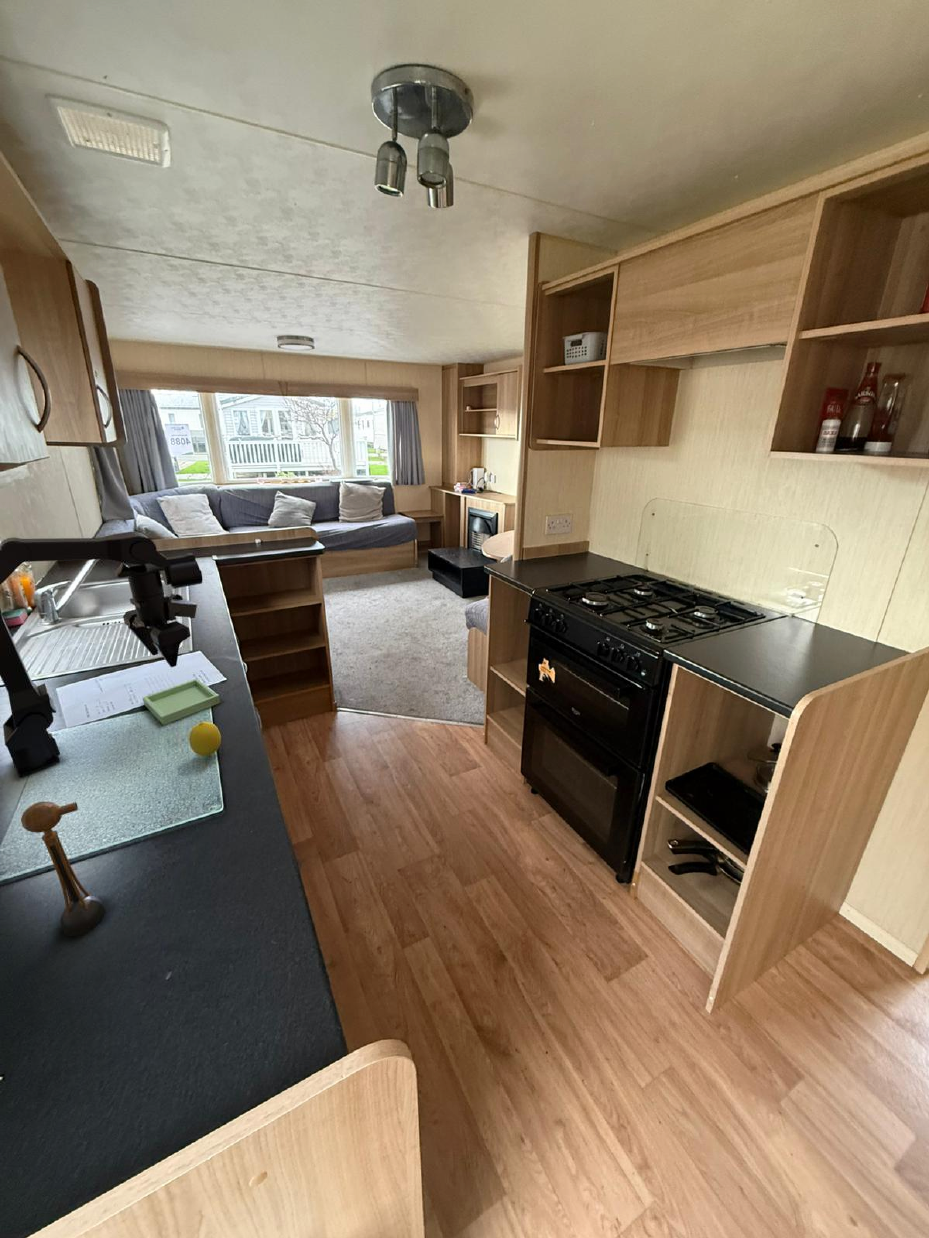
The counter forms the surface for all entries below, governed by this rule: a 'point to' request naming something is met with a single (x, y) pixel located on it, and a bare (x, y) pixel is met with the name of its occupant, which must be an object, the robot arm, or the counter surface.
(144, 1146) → the counter surface
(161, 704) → the tray
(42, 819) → the wooden tabletop sculpture
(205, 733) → the lemon
